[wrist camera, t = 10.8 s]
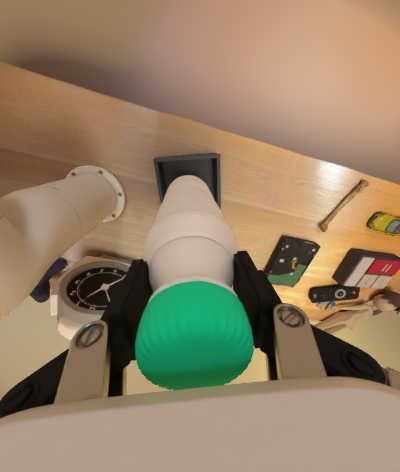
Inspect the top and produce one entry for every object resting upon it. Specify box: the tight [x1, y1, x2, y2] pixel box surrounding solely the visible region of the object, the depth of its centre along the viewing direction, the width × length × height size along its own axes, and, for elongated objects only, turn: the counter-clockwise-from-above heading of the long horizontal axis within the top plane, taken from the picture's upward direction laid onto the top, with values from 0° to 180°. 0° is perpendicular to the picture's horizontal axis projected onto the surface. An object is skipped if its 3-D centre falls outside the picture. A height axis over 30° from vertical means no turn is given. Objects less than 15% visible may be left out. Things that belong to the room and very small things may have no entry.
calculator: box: [332, 249, 400, 289], centre depth 51 cm, size 11×4×15 cm
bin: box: [154, 153, 221, 210], centre depth 36 cm, size 12×12×7 cm
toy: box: [314, 291, 400, 335], centre depth 61 cm, size 18×6×30 cm
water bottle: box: [135, 175, 254, 390], centre depth 17 cm, size 7×7×25 cm
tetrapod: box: [29, 260, 66, 303], centre depth 42 cm, size 11×12×11 cm
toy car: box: [367, 212, 400, 236], centre depth 45 cm, size 5×10×3 cm, turn 74°
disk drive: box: [264, 235, 320, 287], centre depth 49 cm, size 10×3×15 cm
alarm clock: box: [51, 254, 132, 340], centre depth 39 cm, size 18×8×20 cm, turn 70°
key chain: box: [317, 301, 335, 312], centre depth 59 cm, size 14×8×1 cm, turn 104°
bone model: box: [320, 180, 369, 232], centre depth 43 cm, size 14×3×2 cm, turn 147°
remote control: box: [310, 285, 360, 303], centre depth 56 cm, size 5×2×15 cm
